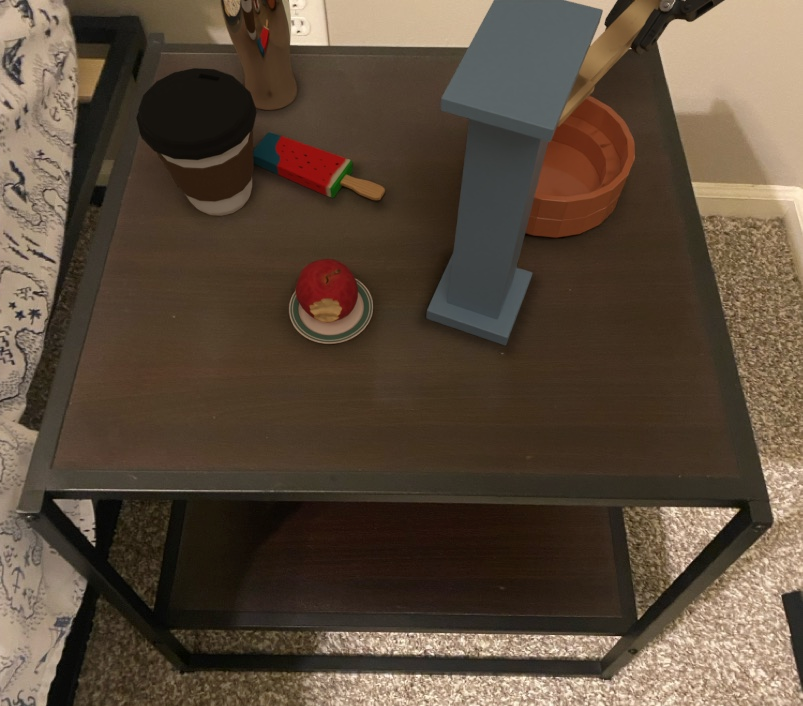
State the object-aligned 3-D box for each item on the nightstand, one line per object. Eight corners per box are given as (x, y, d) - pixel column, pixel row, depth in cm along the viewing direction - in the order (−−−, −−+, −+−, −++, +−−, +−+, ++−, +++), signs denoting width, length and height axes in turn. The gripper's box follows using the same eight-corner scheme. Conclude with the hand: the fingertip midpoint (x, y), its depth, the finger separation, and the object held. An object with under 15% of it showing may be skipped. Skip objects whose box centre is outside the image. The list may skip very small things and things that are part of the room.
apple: (389, 317, 68) (389, 277, 62) (320, 361, 65) (313, 324, 60) (341, 263, 71) (337, 220, 65) (273, 303, 69) (262, 262, 63)
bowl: (616, 137, 80) (631, 94, 75) (620, 248, 72) (638, 208, 67) (476, 124, 81) (481, 80, 76) (465, 232, 73) (471, 192, 68)
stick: (686, -11, 66) (682, 2, 68) (654, -29, 67) (651, -16, 69) (559, 120, 64) (558, 131, 65) (528, 100, 65) (528, 110, 67)
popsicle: (372, 205, 73) (248, 156, 76) (372, 214, 74) (250, 165, 77) (392, 175, 75) (270, 129, 78) (392, 185, 76) (272, 139, 79)
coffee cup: (193, 147, 79) (162, 54, 68) (287, 167, 77) (270, 75, 67) (152, 222, 73) (111, 133, 63) (251, 244, 72) (227, 157, 62)
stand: (499, 363, 66) (562, 132, 41) (418, 335, 67) (432, 95, 43) (536, 266, 71) (610, 11, 47) (460, 242, 72) (495, -18, 48)
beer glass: (310, 79, 84) (295, -45, 71) (287, 119, 81) (267, -4, 68) (255, 67, 85) (231, -58, 72) (231, 105, 82) (201, -18, 69)
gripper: (817, -92, 62) (688, 88, 69) (683, -152, 67) (575, 22, 74) (818, -136, 56) (676, 68, 62) (670, -198, 61) (552, -3, 67)
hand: (622, 42), depth 68 cm, fingers closed on stick, 2 cm apart
